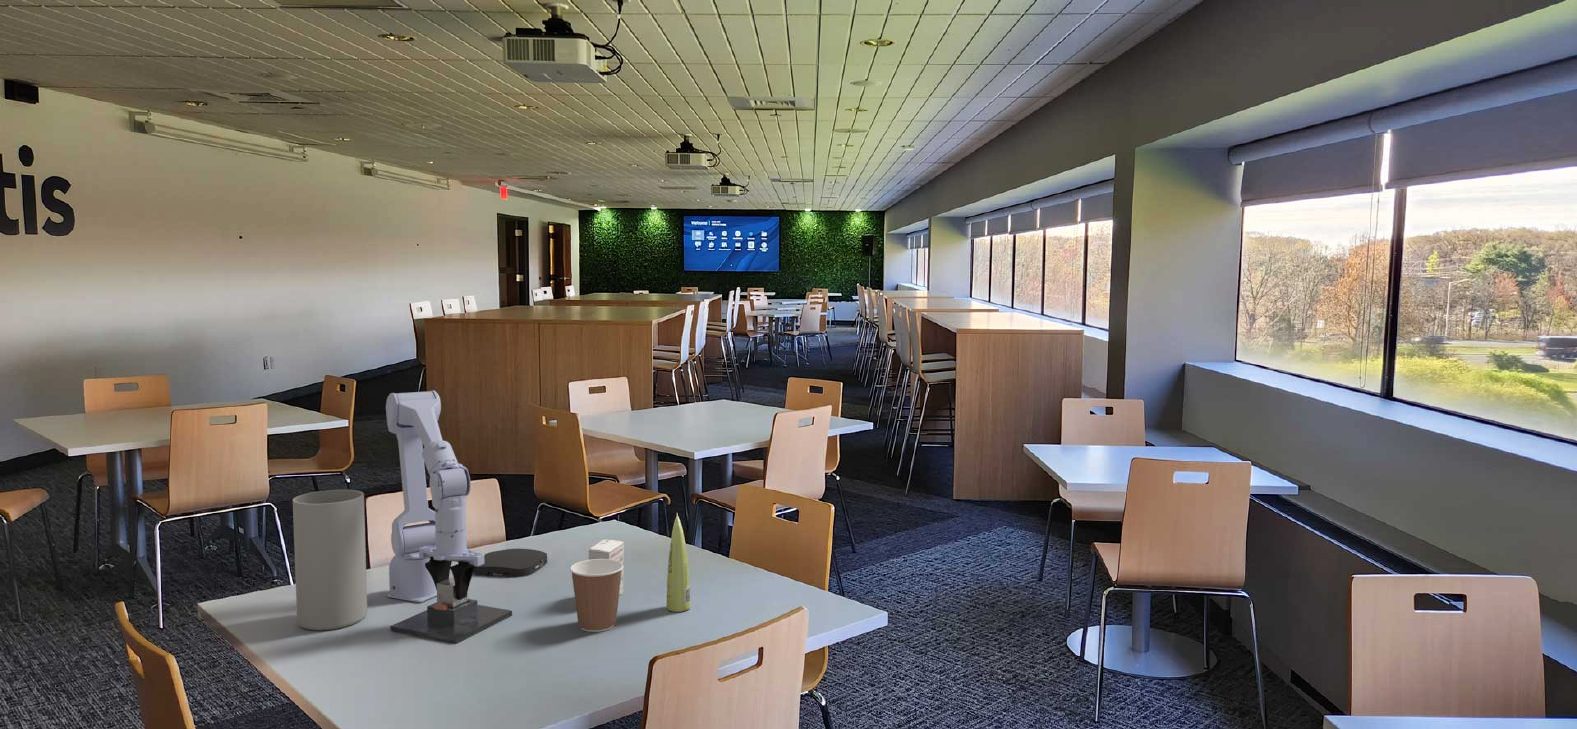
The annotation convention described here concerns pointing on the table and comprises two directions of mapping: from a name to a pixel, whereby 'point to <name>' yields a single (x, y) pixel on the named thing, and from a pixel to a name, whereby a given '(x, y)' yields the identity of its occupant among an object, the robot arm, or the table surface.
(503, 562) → the media streaming box
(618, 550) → the ink box
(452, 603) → the column
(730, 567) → the table surface
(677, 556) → the tube
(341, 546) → the cylinder vase
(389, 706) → the table surface
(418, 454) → the robot arm
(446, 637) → the stand
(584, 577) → the coffee cup
